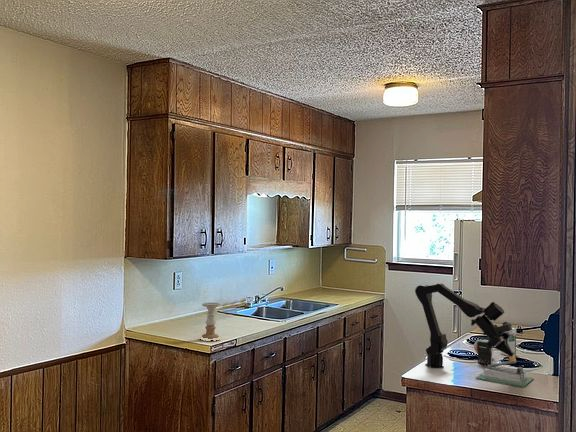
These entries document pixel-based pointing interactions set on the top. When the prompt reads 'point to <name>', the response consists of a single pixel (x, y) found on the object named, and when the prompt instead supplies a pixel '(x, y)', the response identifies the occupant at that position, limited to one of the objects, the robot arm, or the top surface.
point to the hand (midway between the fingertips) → (512, 355)
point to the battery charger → (484, 353)
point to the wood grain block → (512, 360)
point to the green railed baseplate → (505, 376)
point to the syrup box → (511, 342)
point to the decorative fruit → (476, 345)
